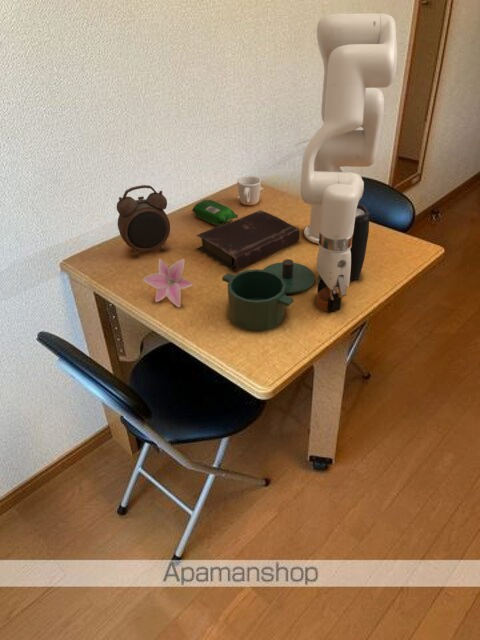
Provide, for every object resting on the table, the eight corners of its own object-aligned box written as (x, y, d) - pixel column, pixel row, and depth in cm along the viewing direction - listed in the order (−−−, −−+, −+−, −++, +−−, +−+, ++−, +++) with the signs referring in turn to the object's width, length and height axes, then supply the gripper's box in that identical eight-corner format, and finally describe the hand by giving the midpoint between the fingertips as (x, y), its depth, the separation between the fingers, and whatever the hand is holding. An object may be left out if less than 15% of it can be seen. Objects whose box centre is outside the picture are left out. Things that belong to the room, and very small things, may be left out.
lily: (142, 294, 131) (133, 277, 122) (172, 263, 134) (166, 245, 126) (175, 320, 128) (168, 306, 119) (205, 289, 131) (201, 272, 122)
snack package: (223, 231, 156) (223, 216, 152) (190, 216, 164) (189, 201, 161) (239, 224, 160) (239, 209, 156) (206, 209, 168) (205, 195, 165)
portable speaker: (324, 281, 133) (331, 214, 121) (334, 264, 140) (342, 199, 128) (356, 288, 130) (366, 220, 118) (365, 270, 137) (375, 204, 125)
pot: (241, 288, 131) (241, 260, 126) (304, 313, 122) (306, 284, 117) (209, 313, 123) (207, 285, 117) (273, 342, 114) (274, 313, 108)
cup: (257, 212, 166) (257, 189, 161) (234, 210, 167) (233, 187, 162) (262, 198, 174) (262, 176, 169) (240, 196, 176) (240, 175, 171)
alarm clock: (127, 262, 142) (115, 197, 130) (121, 250, 147) (109, 186, 135) (175, 251, 147) (168, 187, 134) (168, 240, 152) (160, 177, 139)
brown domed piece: (331, 294, 128) (333, 279, 125) (344, 307, 124) (346, 291, 121) (311, 300, 126) (312, 284, 123) (323, 313, 122) (325, 297, 119)
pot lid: (278, 260, 142) (279, 242, 138) (324, 276, 135) (326, 258, 131) (249, 283, 133) (249, 265, 129) (296, 302, 126) (297, 283, 122)
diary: (300, 243, 149) (301, 228, 146) (237, 273, 136) (236, 258, 133) (258, 222, 160) (258, 207, 157) (196, 248, 148) (195, 233, 144)
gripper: (367, 255, 108) (356, 320, 119) (336, 220, 121) (329, 281, 132) (334, 260, 106) (326, 325, 117) (307, 224, 120) (302, 286, 131)
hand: (328, 302), depth 125 cm, fingers closed on brown domed piece, 6 cm apart
